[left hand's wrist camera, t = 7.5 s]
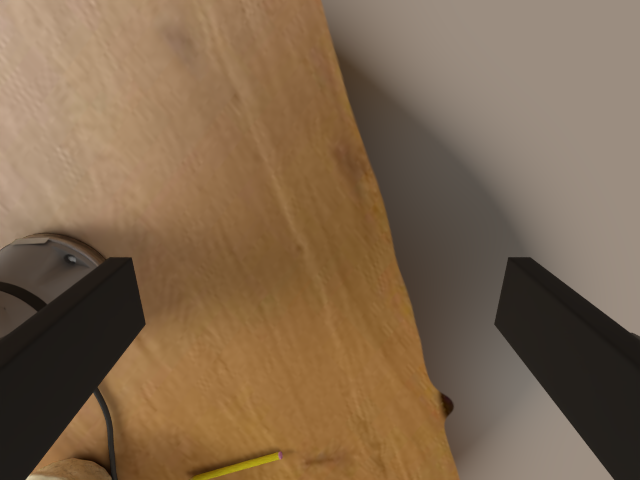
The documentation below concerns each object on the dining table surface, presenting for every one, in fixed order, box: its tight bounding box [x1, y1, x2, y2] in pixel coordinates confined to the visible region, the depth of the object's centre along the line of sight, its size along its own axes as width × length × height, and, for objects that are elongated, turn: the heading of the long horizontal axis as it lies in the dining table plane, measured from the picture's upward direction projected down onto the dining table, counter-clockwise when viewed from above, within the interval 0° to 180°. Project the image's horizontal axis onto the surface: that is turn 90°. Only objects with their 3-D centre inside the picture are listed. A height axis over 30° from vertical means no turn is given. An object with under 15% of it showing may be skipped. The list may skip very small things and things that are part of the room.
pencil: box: [189, 451, 282, 480], centre depth 57 cm, size 16×1×1 cm, turn 111°
